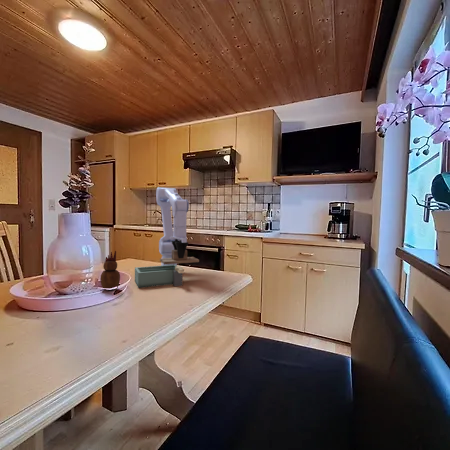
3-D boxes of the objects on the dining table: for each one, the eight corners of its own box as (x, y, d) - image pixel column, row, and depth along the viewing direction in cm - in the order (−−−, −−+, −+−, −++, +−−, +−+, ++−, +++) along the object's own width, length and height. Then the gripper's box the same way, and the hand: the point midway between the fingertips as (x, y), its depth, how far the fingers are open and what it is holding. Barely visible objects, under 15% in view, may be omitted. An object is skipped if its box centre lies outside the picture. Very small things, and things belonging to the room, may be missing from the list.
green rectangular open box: (134, 281, 112) (134, 267, 112) (175, 277, 120) (175, 264, 120) (139, 290, 100) (139, 274, 99) (184, 285, 108) (184, 270, 107)
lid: (159, 260, 115) (160, 249, 115) (192, 258, 122) (193, 248, 122) (164, 264, 108) (164, 252, 108) (198, 261, 115) (199, 250, 114)
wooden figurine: (122, 287, 102) (122, 250, 102) (114, 292, 97) (114, 252, 96) (106, 286, 103) (106, 249, 102) (97, 291, 97) (97, 251, 97)
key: (175, 270, 107) (175, 266, 107) (180, 269, 108) (180, 266, 108) (179, 273, 102) (179, 269, 102) (184, 272, 103) (184, 269, 103)
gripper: (167, 225, 119) (166, 255, 120) (175, 227, 106) (174, 260, 107) (181, 225, 122) (181, 254, 123) (191, 227, 109) (191, 259, 110)
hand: (179, 257), depth 115 cm, fingers closed on lid, 4 cm apart
